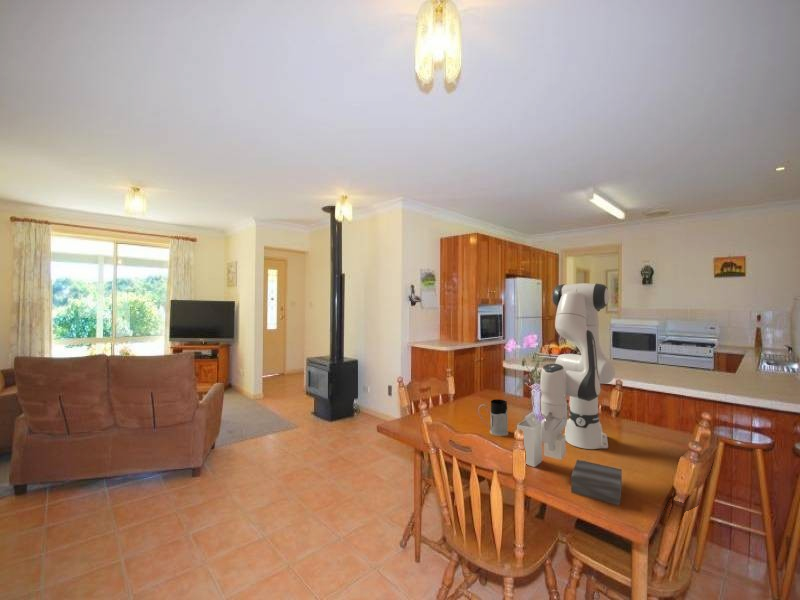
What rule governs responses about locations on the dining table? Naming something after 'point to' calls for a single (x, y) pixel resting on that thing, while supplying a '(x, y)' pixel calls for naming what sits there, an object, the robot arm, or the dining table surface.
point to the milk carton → (532, 439)
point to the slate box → (597, 481)
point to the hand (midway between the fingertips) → (554, 446)
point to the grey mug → (498, 418)
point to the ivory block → (556, 448)
